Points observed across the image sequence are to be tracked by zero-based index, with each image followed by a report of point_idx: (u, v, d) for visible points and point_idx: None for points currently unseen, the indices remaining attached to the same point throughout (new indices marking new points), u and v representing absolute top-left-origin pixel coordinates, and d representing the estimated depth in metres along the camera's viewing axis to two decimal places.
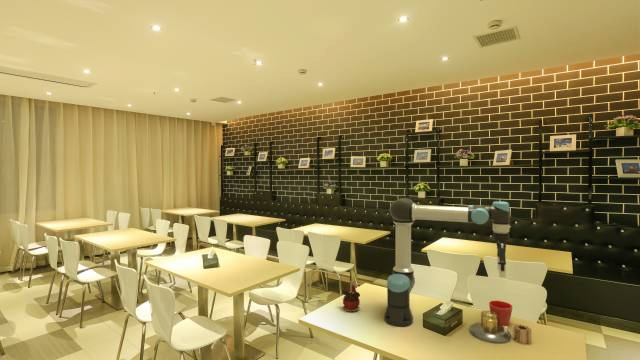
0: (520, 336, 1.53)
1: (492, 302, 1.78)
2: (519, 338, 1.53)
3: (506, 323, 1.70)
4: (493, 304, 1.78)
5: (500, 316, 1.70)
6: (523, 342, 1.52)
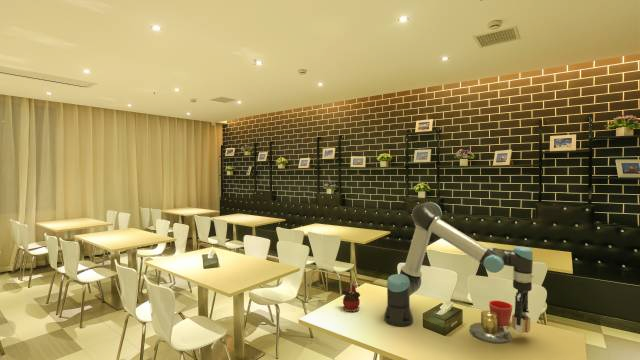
0: None
1: (492, 302, 1.78)
2: None
3: (506, 323, 1.70)
4: (493, 304, 1.78)
5: (500, 316, 1.70)
6: (522, 331, 1.52)
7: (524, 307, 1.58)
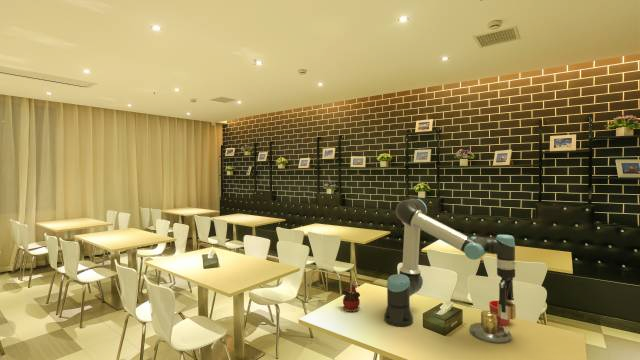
0: None
1: (492, 302, 1.78)
2: None
3: (506, 323, 1.70)
4: (493, 304, 1.78)
5: None
6: None
7: (509, 295, 1.59)
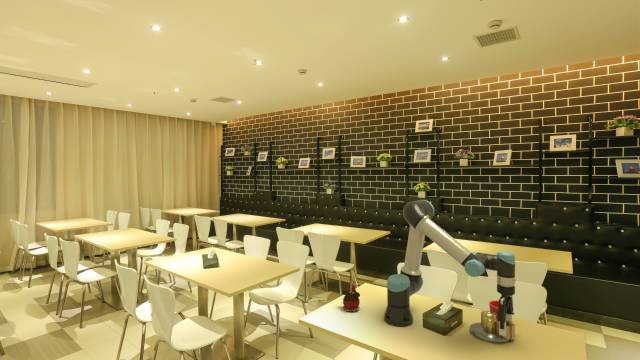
0: None
1: (492, 302, 1.78)
2: None
3: None
4: (493, 304, 1.78)
5: None
6: (506, 337, 1.54)
7: (509, 310, 1.60)
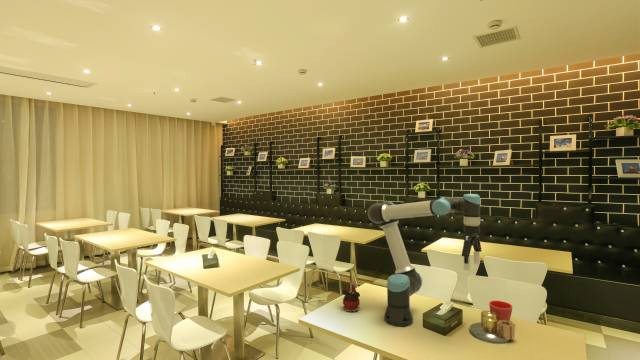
0: (503, 331, 1.55)
1: (492, 302, 1.78)
2: (502, 333, 1.55)
3: None
4: (493, 304, 1.78)
5: (500, 316, 1.70)
6: (506, 337, 1.54)
7: (476, 248, 1.70)
